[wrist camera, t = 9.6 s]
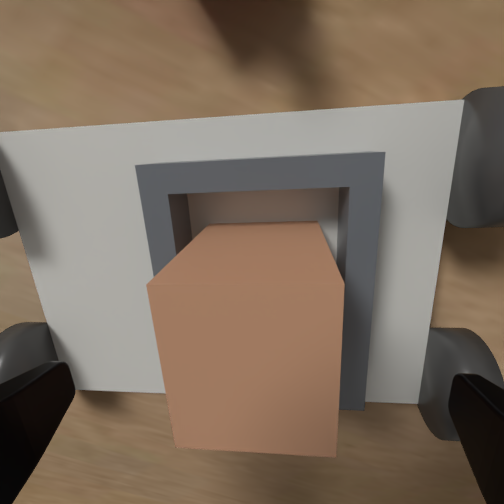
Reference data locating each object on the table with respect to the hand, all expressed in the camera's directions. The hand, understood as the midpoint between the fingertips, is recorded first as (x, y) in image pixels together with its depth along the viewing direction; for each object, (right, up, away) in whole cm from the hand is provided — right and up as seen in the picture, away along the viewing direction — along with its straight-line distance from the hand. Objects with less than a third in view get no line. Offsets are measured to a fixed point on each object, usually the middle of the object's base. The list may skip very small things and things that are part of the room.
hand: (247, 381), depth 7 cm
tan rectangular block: (+1, +2, +6) cm, 6 cm away
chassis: (-1, +2, +8) cm, 8 cm away
